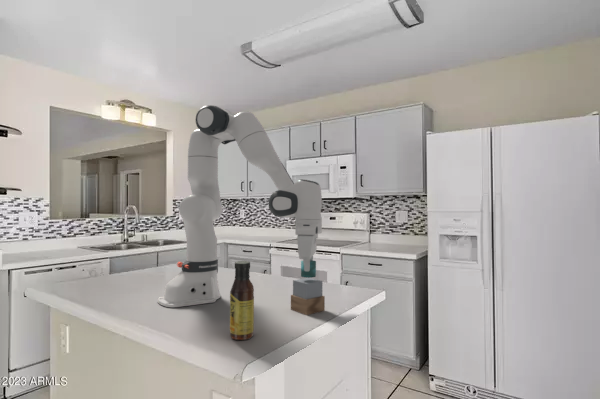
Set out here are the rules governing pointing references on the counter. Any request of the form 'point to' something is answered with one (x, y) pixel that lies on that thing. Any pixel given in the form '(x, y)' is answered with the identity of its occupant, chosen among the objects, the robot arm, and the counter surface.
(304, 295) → the slate top block
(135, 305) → the counter surface
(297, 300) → the walnut base block
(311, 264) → the teal cylinder
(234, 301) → the sauce bottle
